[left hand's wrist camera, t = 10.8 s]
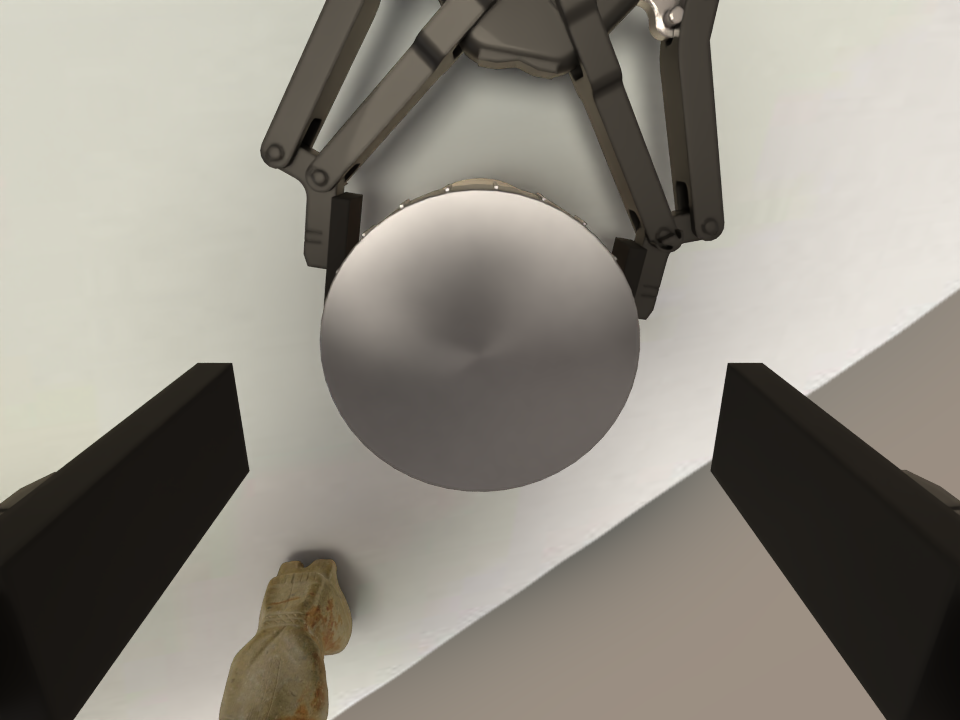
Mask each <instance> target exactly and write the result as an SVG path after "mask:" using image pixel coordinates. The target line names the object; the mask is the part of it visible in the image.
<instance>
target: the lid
mask: <svg viewBox="0 0 960 720" xmlns="http://www.w3.org/2000/svg"><path fill="white" fill-rule="evenodd" d="M399 207H400V208H398V209H397V210H396V211H394V212H393V213H392V214H390V215H389V216H388V217H386V218H385V219H384V220H383V221H381V222H380V223H379V224H377V225H376V226H374V225H373V226H372V227H371V228H369V229H368V230H367V231H365V232H364V233H363V234H362V236H363V238H362V239H361V240H360V241H359V242H358V243H357V244H356V245H355V246H354V248H353V249H352V250H351V252H350V253H349V254H348V256H347V257H346V259H345V260H344V261H343V263H342V264H341V266H340V268H339V269H337V271H336V276H335V278H334V279H333V281H332V284H331V287H330V289H329V292H328V295H327V298H326V300H325V305H324V310H323V314H322V319H321V331H320V350H321V361H322V366H323V371H324V376H325V380H326V383H327V386H328V388H329V391H330V394H331V397H332V399H333V401H334V403H335V405H336V407H337V409H338V411H339V413H340V415H341V416H342V418H343V419H344V420H345V422H346V423H347V425H348V426H349V428H350V429H351V431H352V432H353V433H354V434H355V435H356V436H357V437H358V438H359V440H360V441H361V442H362V443H363V444H364V445H365V446H366V447H367V448H368V449H369V450H371V451H372V452H373V453H374V454H375V455H376V456H377V457H379V458H380V459H382V460H383V461H384V462H386V463H387V464H389V465H390V466H392V467H393V468H395V469H397V470H399V471H401V472H403V473H404V474H406V475H408V476H410V477H412V478H415V479H418V480H420V481H423V482H426V483H428V484H432V485H435V486H439V487H443V488H447V489H454V490H461V491H480V492H487V491H498V490H507V489H512V488H516V487H521V486H525V485H528V484H531V483H534V482H537V481H540V480H543V479H545V478H547V477H549V476H552V475H554V474H556V473H558V472H560V471H561V470H563V469H565V468H566V467H568V466H570V465H571V464H573V463H575V462H576V461H577V460H578V459H580V458H581V457H582V456H583V455H585V454H586V453H587V452H589V451H590V450H591V449H592V448H593V447H594V446H595V445H596V444H597V443H598V442H599V441H600V440H601V439H602V438H603V437H604V435H605V434H606V433H607V431H608V430H609V429H610V428H611V426H612V425H613V424H614V422H615V421H616V419H617V417H618V416H619V414H620V412H621V411H622V409H623V407H624V405H625V403H626V401H627V398H628V396H629V394H630V391H631V389H632V386H633V383H634V379H635V375H636V372H637V367H638V360H639V352H640V328H639V321H638V314H637V308H636V305H635V302H634V301H635V300H634V297H633V295H632V291H631V289H630V286H629V284H628V282H627V280H626V278H625V276H624V273H623V271H622V270H621V268H620V266H619V265H618V263H617V262H616V260H617V258H616V257H615V256H614V255H613V254H612V253H610V251H609V250H608V249H607V248H606V247H605V246H604V244H603V243H602V242H601V241H600V240H599V239H598V237H597V236H595V235H594V234H593V233H592V232H591V231H590V230H589V229H587V228H586V227H585V226H586V225H587V224H586V223H585V222H584V221H583V220H581V219H580V218H579V217H577V216H576V215H575V216H574V217H573V216H572V215H570V214H569V213H567V212H566V211H564V210H563V209H561V208H560V207H558V206H557V205H555V204H554V203H552V202H550V201H548V200H546V198H545V197H544V196H542V195H541V194H540V193H538V192H537V194H536V195H535V194H533V193H529V192H526V191H523V190H520V189H517V188H512V187H506V186H500V185H498V184H497V182H493V184H469V185H460V186H452V184H448V185H447V187H446V188H444V189H440V190H436V191H433V192H431V193H428V194H426V195H423V196H421V197H418V198H416V199H414V200H412V201H410V199H408V200H406V201H405V202H403V203H402V204H401V205H399Z"/></svg>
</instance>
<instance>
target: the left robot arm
mask: <svg viewBox="0 0 960 720" xmlns="http://www.w3.org/2000/svg"><path fill="white" fill-rule="evenodd" d="M248 472H249V465H248V459H247V453H246V446H245V440H244V434H243V428H242V421H241V415H240V409H239V403H238V396H237V390H236V384H235V378H234V371H233V365H232V363H197V364H196V365H194V366H193V367H192V368H191V369H189V370H188V371H187V372H185V373H184V374H183V375H182V376H180V377H179V378H178V379H176V380H175V381H174V382H172V383H171V384H170V385H169V386H167V387H166V388H165V389H163V390H162V391H161V392H159V393H158V394H157V395H156V396H154V397H153V398H152V399H150V400H149V401H148V402H146V403H145V404H144V405H143V406H141V407H140V408H139V409H137V410H136V411H135V412H134V413H132V414H131V415H130V416H128V417H127V418H126V419H124V420H123V421H122V422H121V423H119V424H118V425H117V426H115V427H114V428H113V429H111V430H110V431H109V432H108V433H106V434H105V435H104V436H102V437H101V438H100V439H99V440H97V441H96V442H95V443H93V444H92V445H91V446H89V447H88V448H87V449H86V450H84V451H83V452H82V453H80V454H79V455H78V456H76V457H75V458H74V459H73V460H71V461H70V462H69V463H67V464H66V465H65V466H64V467H62V468H61V469H60V470H58V471H57V472H54V473H52V474H50V475H47V476H45V477H43V478H41V479H39V480H37V481H35V482H33V483H31V484H29V485H27V486H25V487H23V488H21V489H19V490H18V491H17V492H15V493H14V494H12V495H11V496H10V497H8V498H7V499H6V500H4V501H3V502H2V503H0V720H74V718H75V717H76V715H77V714H78V713H79V711H80V710H81V708H82V707H83V706H84V704H85V703H86V701H87V700H88V698H89V697H90V696H91V694H92V693H93V691H94V690H95V689H96V687H97V686H98V684H99V683H100V681H101V680H102V679H103V677H104V676H105V674H106V673H107V672H108V670H109V669H110V667H111V666H112V665H113V663H114V662H115V660H116V659H117V657H118V656H119V655H120V653H121V652H122V650H123V649H124V648H125V646H126V645H127V643H128V642H129V641H130V639H131V638H132V636H133V635H134V633H135V632H136V631H137V629H138V628H139V626H140V625H141V624H142V622H143V621H144V619H145V618H146V616H147V615H148V614H149V612H150V611H151V609H152V608H153V607H154V605H155V604H156V602H157V601H158V600H159V598H160V597H161V595H162V594H163V592H164V591H165V590H166V588H167V587H168V585H169V584H170V583H171V581H172V580H173V578H174V577H175V576H176V574H177V573H178V571H179V570H180V568H181V567H182V566H183V564H184V563H185V561H186V560H187V559H188V557H189V556H190V554H191V553H192V551H193V550H194V549H195V547H196V546H197V544H198V543H199V542H200V540H201V539H202V537H203V536H204V535H205V533H206V532H207V530H208V529H209V527H210V526H211V525H212V523H213V522H214V520H215V519H216V518H217V516H218V515H219V513H220V512H221V511H222V509H223V508H224V506H225V505H226V503H227V502H228V501H229V499H230V498H231V496H232V495H233V494H234V492H235V491H236V489H237V488H238V486H239V485H240V484H241V482H242V481H243V479H244V478H245V477H246V475H247V474H248ZM711 472H712V474H713V475H714V477H715V478H716V479H717V481H718V482H719V484H720V485H721V486H722V488H723V489H724V491H725V492H726V494H727V495H728V496H729V498H730V499H731V501H732V502H733V503H734V505H735V506H736V508H737V509H738V511H739V512H740V513H741V515H742V516H743V518H744V519H745V520H746V522H747V523H748V525H749V526H750V527H751V529H752V530H753V532H754V533H755V534H756V536H757V537H758V539H759V540H760V542H761V543H762V544H763V546H764V547H765V549H766V550H767V551H768V553H769V554H770V556H771V557H772V558H773V560H774V561H775V563H776V564H777V566H778V567H779V568H780V570H781V571H782V573H783V574H784V576H785V577H786V578H787V580H788V581H789V583H790V584H791V585H792V587H793V588H794V590H795V591H796V592H797V594H798V595H799V597H800V598H801V600H802V601H803V602H804V604H805V605H806V607H807V608H808V609H809V611H810V612H811V614H812V615H813V616H814V618H815V619H816V621H817V622H818V624H819V625H820V626H821V628H822V629H823V631H824V632H825V633H826V635H827V636H828V638H829V639H830V640H831V642H832V643H833V645H834V646H835V648H836V649H837V650H838V652H839V653H840V655H841V656H842V657H843V659H844V660H845V662H846V663H847V665H848V666H849V667H850V669H851V670H852V672H853V673H854V674H855V676H856V677H857V679H858V680H859V681H860V683H861V684H862V686H863V687H864V689H865V690H866V691H867V693H868V694H869V696H870V697H871V698H872V700H873V701H874V703H875V704H876V706H877V707H878V708H879V710H880V711H881V713H882V714H883V715H884V717H885V718H886V720H960V501H959V500H958V499H957V498H955V497H954V496H953V495H951V494H950V493H948V492H947V491H946V490H944V489H943V488H942V487H940V486H938V485H936V484H934V483H932V482H930V481H928V480H926V479H924V478H922V477H920V476H918V475H915V474H913V473H911V472H909V471H907V470H900V469H899V468H898V467H896V466H895V465H894V464H893V463H891V462H890V461H889V460H887V459H886V458H885V457H883V456H882V455H881V454H880V453H878V452H877V451H876V450H874V449H873V448H872V447H871V446H869V445H868V444H867V443H865V442H864V441H863V440H861V439H860V438H859V437H858V436H856V435H855V434H854V433H852V432H851V431H850V430H849V429H847V428H846V427H845V426H843V425H842V424H841V423H839V422H838V421H837V420H836V419H834V418H833V417H832V416H830V415H829V414H828V413H826V412H825V411H824V410H823V409H821V408H820V407H819V406H817V405H816V404H815V403H813V402H812V401H811V400H810V399H808V398H807V397H806V396H804V395H803V394H802V393H801V392H799V391H798V390H797V389H795V388H794V387H793V386H791V385H790V384H789V383H788V382H786V381H785V380H784V379H782V378H781V377H780V376H778V375H777V374H776V373H775V372H773V371H772V370H771V369H769V368H768V367H767V366H766V365H764V364H763V363H728V365H727V371H726V378H725V384H724V390H723V396H722V403H721V409H720V415H719V421H718V428H717V434H716V440H715V446H714V453H713V459H712V465H711Z"/></svg>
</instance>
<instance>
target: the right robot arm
mask: <svg viewBox="0 0 960 720" xmlns="http://www.w3.org/2000/svg"><path fill="white" fill-rule="evenodd" d="M380 1H381V0H326V2H325V4H324V6H323V9H322V11H321V13H320V15H319V18H318V20H317V22H316V24H315V26H314V29H313V31H312V33H311V35H310V38H309V40H308V42H307V44H306V47H305V49H304V51H303V53H302V55H301V58H300V60H299V62H298V64H297V67H296V69H295V71H294V73H293V75H292V78H291V80H290V82H289V84H288V87H287V89H286V91H285V93H284V96H283V98H282V100H281V102H280V104H279V107H278V109H277V111H276V113H275V116H274V118H273V120H272V122H271V125H270V127H269V129H268V131H267V133H266V136H265V138H264V140H263V142H262V145H261V149H260V152H261V157H262V159H263V161H264V162H265V163H266V164H267V165H268V166H269V167H272V168H275V169H277V168H278V169H280V170H282V171H283V172H285V173H287V174H289V175H291V176H292V177H294V178H296V179H297V180H299V181H300V182H301V183H302V185H303V186H304V188H305V190H306V194H307V205H306V223H305V242H304V256H305V259H306V262H307V265H308V266H310V267H316V268H322V269H327V270H326V284H325V298H324V305H325V300H326V298H327V295H328V292H329V289H330V287H331V284H332V281H333V279H334V278H335V276H336V271H337V269H339V268H340V266H341V264H342V263H343V261H344V260H345V259H346V257H347V256H348V254H349V253H350V252H351V250H352V249H353V248H354V246H355V245H356V244H357V243H358V242H359V233H360V221H361V210H362V199H363V195H361V194H355V193H349V192H345V193H344V186H345V185H347V184H348V183H347V181H348V180H349V179H350V178H351V177H352V175H353V174H354V173H355V172H356V171H357V170H358V169H359V168H360V166H361V165H362V164H363V163H364V162H365V161H366V160H367V159H368V157H369V156H370V155H371V154H372V153H373V152H374V151H375V150H376V148H377V147H378V146H379V145H380V144H381V143H382V142H383V140H384V139H385V138H386V137H387V136H388V135H389V134H390V133H391V131H392V130H393V129H394V128H395V127H396V126H397V125H398V124H399V122H400V121H401V120H402V119H403V118H404V117H405V116H406V115H407V113H408V112H409V111H410V110H411V109H412V108H413V107H414V106H415V104H416V103H417V102H418V101H419V100H420V99H421V98H422V96H423V95H424V94H425V93H426V92H427V91H428V90H429V89H430V87H431V86H432V85H433V84H434V83H435V82H436V81H437V80H438V78H439V77H440V76H441V75H443V74H444V73H445V72H446V71H447V70H448V69H449V68H450V67H451V66H452V65H453V64H454V63H455V61H456V60H457V59H458V58H459V57H460V56H461V55H462V54H463V52H464V53H465V54H466V55H467V56H468V57H469V58H470V59H471V60H473V61H474V62H476V63H478V66H481V67H486V68H492V69H503V68H512V67H516V68H519V69H521V70H523V71H525V72H527V73H528V74H530V75H532V76H536V77H541V78H547V79H553V78H554V77H558V76H562V75H564V74H567V73H569V75H570V77H571V80H572V82H573V85H574V87H575V90H576V92H577V94H578V96H579V98H580V99H581V100H582V102H583V104H584V106H585V109H586V111H587V114H588V116H589V119H590V121H591V124H592V126H593V129H594V131H595V134H596V136H597V139H598V141H599V144H600V146H601V149H602V151H603V154H604V156H605V159H606V161H607V164H608V166H609V168H610V171H611V173H612V176H613V178H614V181H615V183H616V186H617V188H618V191H619V193H620V196H621V198H622V201H623V203H624V206H625V208H626V211H627V213H628V216H629V218H630V221H631V223H632V226H633V228H634V231H635V233H636V236H635V240H634V241H633V240H630V239H624V238H618V237H616V238H615V242H614V246H613V251H612V254H613V255H614V256H615V257H616V258H617V260H616V262H617V263H618V265H619V266H620V268H621V270H622V271H623V273H624V276H625V278H626V280H627V282H628V284H629V286H630V289H631V291H632V295H633V297H634V300H635V301H634V302H635V305H636V308H637V314H638V319H644V320H646V319H647V318H648V316H649V315H650V314H651V312H652V311H653V309H654V305H655V302H656V297H657V295H658V291H659V287H660V284H661V280H662V277H663V273H664V269H665V266H666V262H667V259H668V256H669V254H670V252H673V251H675V250H677V249H678V248H679V247H680V246H681V245H682V244H683V243H687V242H693V241H698V240H704V241H712V240H714V239H716V238H717V237H719V236H720V235H721V233H722V231H723V229H724V213H723V200H722V188H721V175H720V163H719V150H718V138H717V125H716V113H715V100H714V88H713V75H712V63H711V50H710V37H711V33H712V29H713V24H714V20H715V16H716V11H717V7H718V3H719V0H439V2H440V4H441V8H440V9H439V10H438V11H437V12H436V14H435V15H434V16H433V17H432V18H431V19H430V21H429V22H428V23H427V24H426V25H425V26H424V28H423V29H422V30H421V31H420V33H419V34H418V35H417V37H416V39H415V41H414V43H413V44H412V45H411V47H410V48H409V49H408V50H407V51H406V53H405V54H404V55H403V56H402V57H401V58H400V60H399V61H398V62H397V63H396V64H395V65H394V67H393V68H392V69H391V70H390V71H389V72H388V74H387V75H386V76H385V77H384V78H383V79H382V81H381V82H380V83H379V84H378V85H377V86H376V88H375V89H374V90H373V91H372V92H371V94H370V95H369V96H368V97H367V98H366V99H365V101H364V102H363V103H362V104H361V105H360V106H359V108H358V109H357V110H356V111H355V112H354V113H353V115H352V116H351V117H350V118H349V119H348V120H347V122H346V123H345V124H344V125H343V126H342V127H341V129H340V130H339V131H338V132H337V133H336V134H335V136H334V137H333V138H332V139H331V140H330V141H329V143H328V144H327V145H326V146H325V147H324V148H323V150H322V151H321V152H320V153H319V152H318V151H316V150H314V149H312V147H313V145H314V143H315V141H316V139H317V136H318V134H319V132H320V130H321V128H322V126H323V124H324V122H325V120H326V118H327V116H328V113H329V111H330V109H331V107H332V105H333V103H334V101H335V99H336V97H337V95H338V93H339V90H340V88H341V86H342V84H343V82H344V80H345V78H346V76H347V74H348V72H349V70H350V67H351V65H352V63H353V61H354V59H355V57H356V55H357V53H358V51H359V49H360V47H361V44H362V42H363V40H364V38H365V36H366V34H367V32H368V30H369V28H370V26H371V24H372V22H373V19H374V17H375V15H376V12H377V10H378V8H379V5H380ZM635 6H639V7H641V8H643V9H644V10H645V12H646V13H647V15H648V18H649V30H650V33H651V35H652V36H653V37H654V38H655V39H657V40H660V41H661V44H660V72H661V82H662V91H663V100H664V109H665V119H666V128H667V137H668V146H669V156H670V165H671V174H672V183H673V193H674V202H675V211H671V210H670V208H669V205H668V202H667V200H666V197H665V194H664V192H663V189H662V186H661V184H660V181H659V178H658V176H657V173H656V170H655V168H654V165H653V163H652V160H651V157H650V155H649V152H648V149H647V147H646V144H645V141H644V139H643V136H642V133H641V131H640V128H639V125H638V123H637V120H636V117H635V115H634V112H633V109H632V107H631V104H630V101H629V99H628V96H627V93H626V91H625V88H624V85H623V82H622V72H621V68H620V65H619V63H618V60H617V57H616V55H615V52H614V49H613V47H612V44H611V41H610V39H609V36H608V34H609V33H610V32H611V31H612V30H613V29H614V28H615V27H616V26H617V25H618V24H619V23H620V22H621V21H622V20H623V19H624V18H625V17H626V15H627V14H628V13H629V12H630V11H631V10H632V9H633V8H634V7H635Z"/></svg>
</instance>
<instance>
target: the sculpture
mask: <svg viewBox="0 0 960 720" xmlns="http://www.w3.org/2000/svg"><path fill="white" fill-rule="evenodd" d="M336 571H337V566H336V564H335V562H334V561H333V560H332V559H318V560H315V561H313V562H312V564H311V565H309V566H308V567H305V568H304V565H303V563H302V562H300V561H290V562H285V563H283V564H282V565H281V567H280V569H279V572H278V574H277V577H274V578H272V579H271V580H270V582H269V584H268V586H267V589H266V592H265V596H264V599H263V603H262V607H261V612H260V617H259V626H258V630H257V633H256V635H255V636H254V637H253V638H252V639H251V640H250V641H249V642H248V643H247V644H246V645H245V646H244V647H243V648H242V649H241V650H240V651H239V652H238V653H237V654H236V656H235V657H234V659H233V662H232V664H231V667H230V671H229V675H228V679H227V682H226V686H225V690H224V695H223V699H222V703H221V707H220V714H219V720H326V719H327V716H328V705H329V704H328V688H327V682H326V671H325V665H324V655H333V654H337V653H339V652H341V651H342V650H343V649H344V648H345V647H346V645H347V644H348V642H349V639H350V636H351V631H352V618H351V612H350V609H349V607H348V604H347V601H346V599H345V596H344V595H343V593H342V591H341V589H340V587H339V584H338V580H337V575H336Z"/></svg>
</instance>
